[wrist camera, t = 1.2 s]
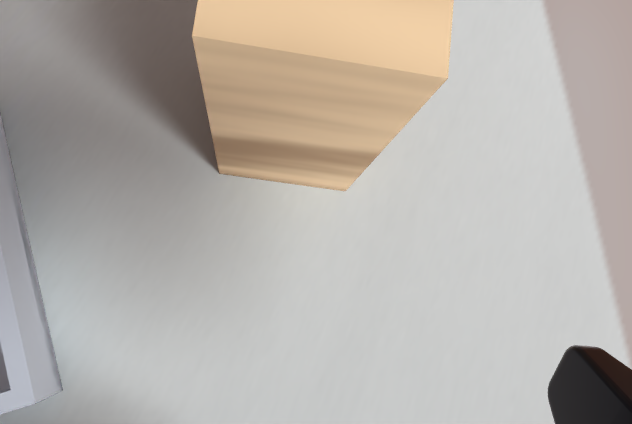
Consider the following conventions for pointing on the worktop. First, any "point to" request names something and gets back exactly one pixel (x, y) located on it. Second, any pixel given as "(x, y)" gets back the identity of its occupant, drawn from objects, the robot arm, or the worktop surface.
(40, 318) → the dish
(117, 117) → the worktop surface
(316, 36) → the oak block
